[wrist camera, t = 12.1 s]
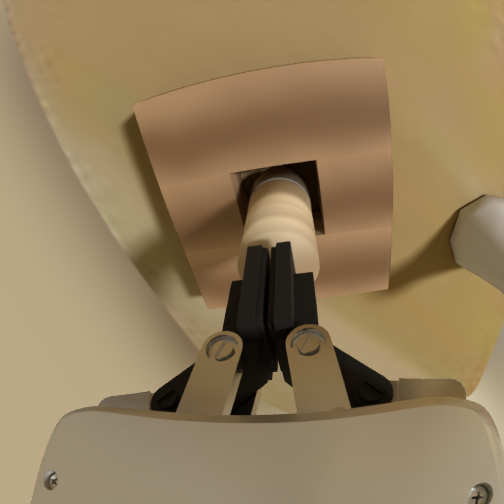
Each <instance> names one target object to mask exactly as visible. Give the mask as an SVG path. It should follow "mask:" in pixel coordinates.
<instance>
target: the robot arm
mask: <svg viewBox="0 0 504 504" xmlns="http://www.w3.org/2000/svg"><path fill="white" fill-rule="evenodd" d="M278 362H279V365H280V369H281V371H282V373H283V376H284V380H285V382H286V383H288V384H289V385H290V386H292V387H293V390H294V396H295V402H296V408H297V414H279V415H256V412H257V408H258V404H259V400H260V396H261V387H263V386H264V385H265V384H266V383H267V382H268V380H272V374H273V372H277V370H278ZM31 504H504V451H503V447H502V443H501V440H500V436H499V433H498V430H497V428H496V425H495V423H494V421H493V419H492V417H491V415H490V414H489V412H488V411H487V410H486V409H485V408H484V407H483V406H481V405H480V404H478V403H476V402H473V401H469V400H466V392H465V388H464V387H463V385H462V384H461V383H460V382H458V381H457V380H454V379H402V378H399V381H389V380H388V379H386V378H385V377H384V376H382V375H381V374H379V373H377V372H376V371H374V370H372V369H371V368H369V367H367V366H366V365H364V364H363V363H361V362H359V361H358V360H356V359H354V358H353V357H351V356H350V355H348V354H346V353H345V352H343V351H342V350H340V349H338V348H337V347H335V346H334V345H333V344H332V341H331V337H330V335H329V333H328V331H327V330H325V329H324V328H323V327H321V326H318V315H317V304H316V295H315V285H314V276H313V272H306V273H298V274H296V272H295V266H294V260H293V254H292V248H291V243H290V241H286V242H278V243H276V247H271V260H270V255H269V251H268V248H263V246H262V245H255V246H248V248H247V254H246V260H245V267H244V273H243V280H236V281H232V283H231V287H230V292H229V297H228V303H227V308H226V313H225V319H224V324H223V330H222V331H221V332H218V333H215V334H213V335H211V336H210V337H209V338H208V339H207V340H206V341H205V342H204V344H203V345H202V348H201V350H200V353H199V355H198V358H197V360H196V362H195V363H194V364H193V365H191V366H190V367H189V368H187V369H186V370H184V371H183V372H182V373H180V374H179V375H177V376H176V377H175V378H173V379H172V380H171V381H169V382H168V383H166V384H165V385H163V386H162V387H161V388H159V389H158V390H157V391H156V392H155V393H151V392H150V391H148V392H142V393H135V394H127V395H119V396H110V397H107V398H105V399H104V400H102V401H101V402H100V404H99V406H92V407H85V408H81V409H77V410H74V411H71V412H69V413H67V414H66V415H64V416H63V417H62V418H61V419H60V420H59V422H58V423H57V425H56V427H55V429H54V431H53V433H52V435H51V437H50V440H49V442H48V445H47V447H46V450H45V453H44V456H43V459H42V462H41V466H40V469H39V472H38V476H37V480H36V484H35V488H34V492H33V496H32V501H31Z"/></svg>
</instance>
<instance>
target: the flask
mask: <svg viewBox="0 0 504 504" xmlns="http://www.w3.org/2000/svg"><path fill="white" fill-rule="evenodd" d="M450 242H451V246H452V250H453V254H454V258H455V262H456V263H457V264H458V265H460V266H461V267H463V268H465V269H467V270H468V271H470V272H472V273H474V274H475V275H477V276H479V277H481V278H482V279H484V280H485V281H487V282H488V283H490V284H491V285H493V286H494V287H496V288H497V289H499V290H500V291H501V292H502V293H503V294H504V198H500V197H495V196H491V195H485V196H483V197H482V198H480V199H478V200H477V201H475V202H473V203H471V204H470V205H468V206H466V207H464V208H463V209H461V210H460V213H459V216H458V219H457V222H456V224H455V227H454V230H453V233H452V235H451V238H450Z"/></svg>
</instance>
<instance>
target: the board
mask: <svg viewBox="0 0 504 504" xmlns="http://www.w3.org/2000/svg"><path fill="white" fill-rule="evenodd" d="M132 106H133V110H134V113H135V116H136V119H137V122H138V125H139V129H140V132H141V135H142V138H143V141H144V144H145V147H146V150H147V153H148V156H149V159H150V161H151V164H152V167H153V170H154V173H155V176H156V179H157V181H158V184H159V187H160V190H161V193H162V195H163V198H164V201H165V203H166V206H167V209H168V211H169V214H170V217H171V219H172V222H173V225H174V227H175V230H176V232H177V235H178V238H179V240H180V243H181V245H182V248H183V250H184V253H185V255H186V258H187V260H188V263H189V265H190V268H191V270H192V272H193V275H194V277H195V280H196V282H197V284H198V287H199V289H200V292H201V294H202V296H203V299H204V301H205V303H206V306H207V308H208V309H213V308H226V307H227V303H228V297H229V292H230V287H231V283H232V281H236V280H242V279H241V277H240V275H239V273H238V266H237V264H238V257H239V252H240V247H241V242H242V237H243V232H244V227H245V222H246V217H247V212H248V203H247V199H246V195H245V191H244V187H243V183H242V179H241V175H240V171H246V170H252V169H258V168H264V167H270V166H277V165H283V164H290V163H297V162H304V161H312V160H314V166H315V173H316V181H317V188H318V196H319V204H320V212H317V213H312V217H313V223H314V230H315V236H316V242H317V249H318V256H319V263H320V269H319V273H318V276H317V278H316V280H315V281H314V285H315V295H316V299H317V298H325V297H333V296H341V295H349V294H356V293H364V292H371V291H378V290H385V289H388V284H389V273H390V260H391V245H392V222H393V162H392V139H391V124H390V112H389V101H388V92H387V83H386V75H385V68H384V61H383V58H374V57H364V58H345V59H332V60H321V61H312V62H303V63H296V64H288V65H282V66H275V67H269V68H264V69H258V70H253V71H248V72H243V73H238V74H234V75H229V76H225V77H221V78H216V79H212V80H208V81H205V82H201V83H197V84H193V85H190V86H186V87H183V88H179V89H176V90H173V91H170V92H166V93H163V94H160V95H157V96H154V97H151V98H149V99H146V100H144V101H141V102H139V103H136V104H134V105H132Z"/></svg>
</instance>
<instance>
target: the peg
mask: <svg viewBox="0 0 504 504" xmlns="http://www.w3.org/2000/svg"><path fill="white" fill-rule="evenodd" d="M286 241H290V243H291V248H292V254H293V260H294V266H295V272H296V274H298V273H306V272H313V276H314V281H315V280H316V278H317V276H318V273H319V269H320V263H319V256H318V249H317V242H316V236H315V230H314V223H313V217H312V211H311V201H310V196H309V194H308V189H307V185H306V183H305V181H304V180H303V178H302V177H301V176H300V175H299V174H297V173H296V172H295V171H294V170H292V169H291V168H289V167H286V166H274V167H271V168H269V169H267V170H266V171H265V172H264V173H262V174H261V175H260V176H259V177H258V178H257V179H256V181H255V182H254V184H253V188H252V192H251V195H250V198H249V204H248V212H247V217H246V222H245V227H244V232H243V237H242V242H241V247H240V252H239V257H238V264H237V266H238V273H239V275H240V277H241V279H242V280H243V273H244V267H245V260H246V254H247V248H248V246H255V245H262V246H263V248H268V251H269V255H270V260H271V247H276V243H278V242H286Z"/></svg>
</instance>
